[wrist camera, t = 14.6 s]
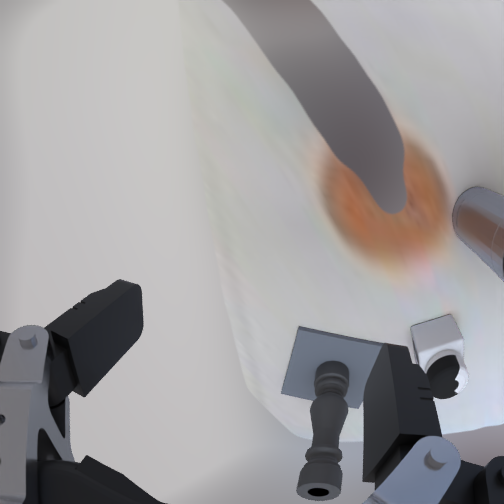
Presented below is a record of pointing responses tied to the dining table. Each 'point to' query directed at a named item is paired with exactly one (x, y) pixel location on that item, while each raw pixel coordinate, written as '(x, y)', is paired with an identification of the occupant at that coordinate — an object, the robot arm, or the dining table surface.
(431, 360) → the container
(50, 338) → the robot arm
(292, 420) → the dining table surface
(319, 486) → the candle holder
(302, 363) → the mat
